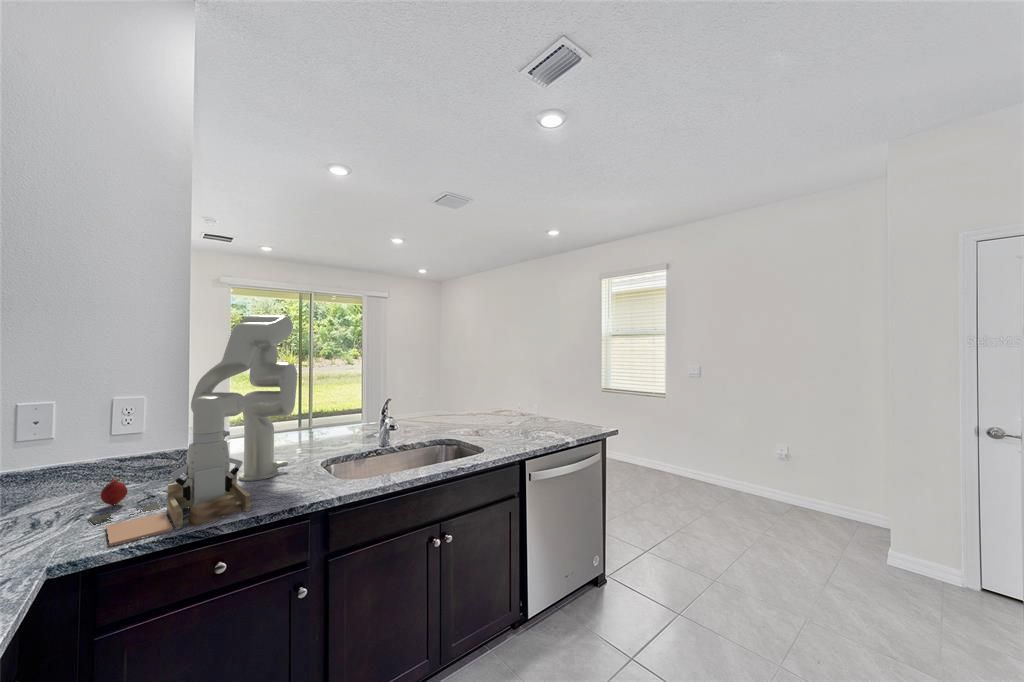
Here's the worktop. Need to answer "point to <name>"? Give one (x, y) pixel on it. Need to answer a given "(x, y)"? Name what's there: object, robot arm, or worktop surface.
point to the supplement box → (208, 485)
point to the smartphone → (147, 508)
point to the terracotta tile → (138, 528)
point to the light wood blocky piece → (178, 502)
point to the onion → (114, 492)
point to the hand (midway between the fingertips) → (208, 495)
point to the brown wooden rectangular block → (213, 509)
